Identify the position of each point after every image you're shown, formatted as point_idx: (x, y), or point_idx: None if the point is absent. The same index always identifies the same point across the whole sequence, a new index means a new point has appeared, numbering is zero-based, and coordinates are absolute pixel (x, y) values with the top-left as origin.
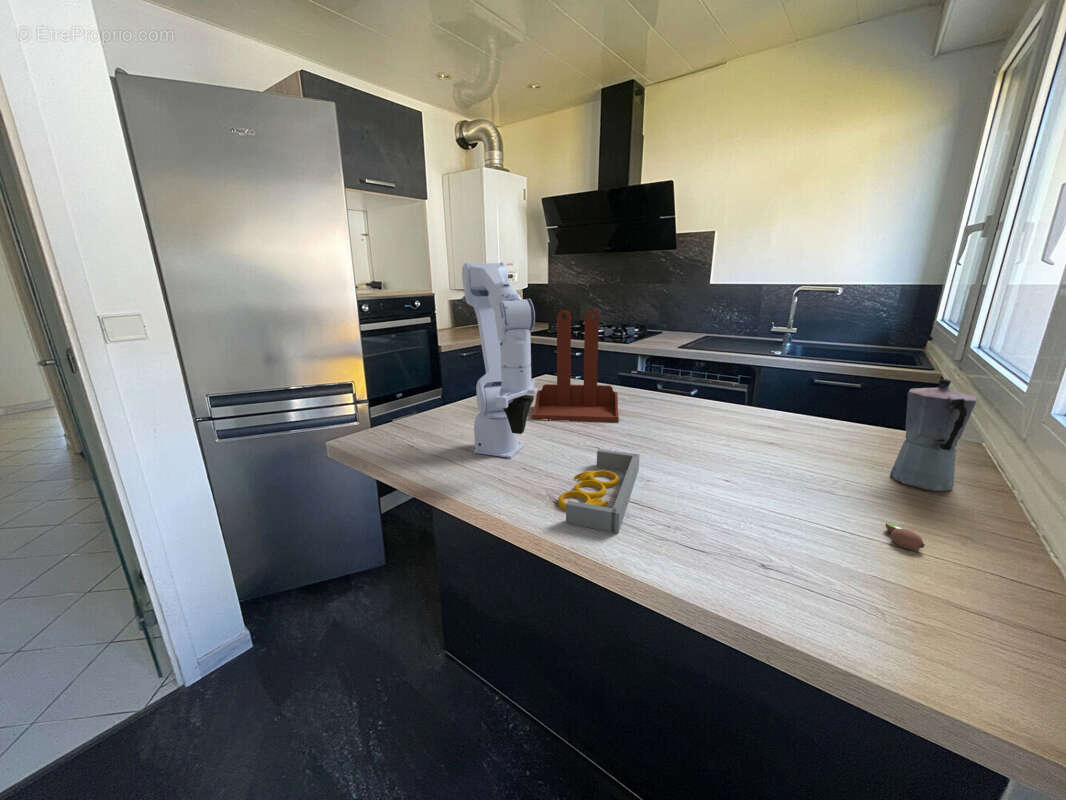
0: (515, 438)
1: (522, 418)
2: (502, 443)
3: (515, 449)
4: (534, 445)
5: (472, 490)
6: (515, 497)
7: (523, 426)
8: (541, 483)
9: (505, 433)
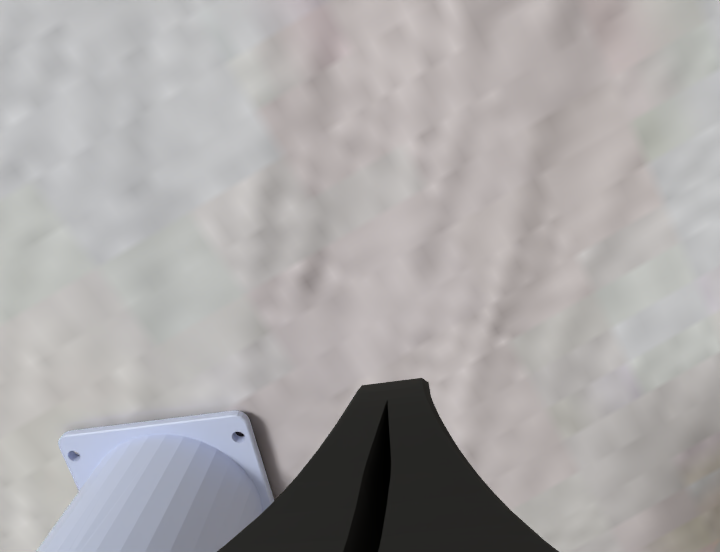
0: (120, 483)
1: (473, 471)
2: (219, 510)
3: (154, 436)
4: (16, 384)
5: (669, 378)
6: (658, 134)
7: (406, 408)
8: (429, 87)
9: (180, 549)
